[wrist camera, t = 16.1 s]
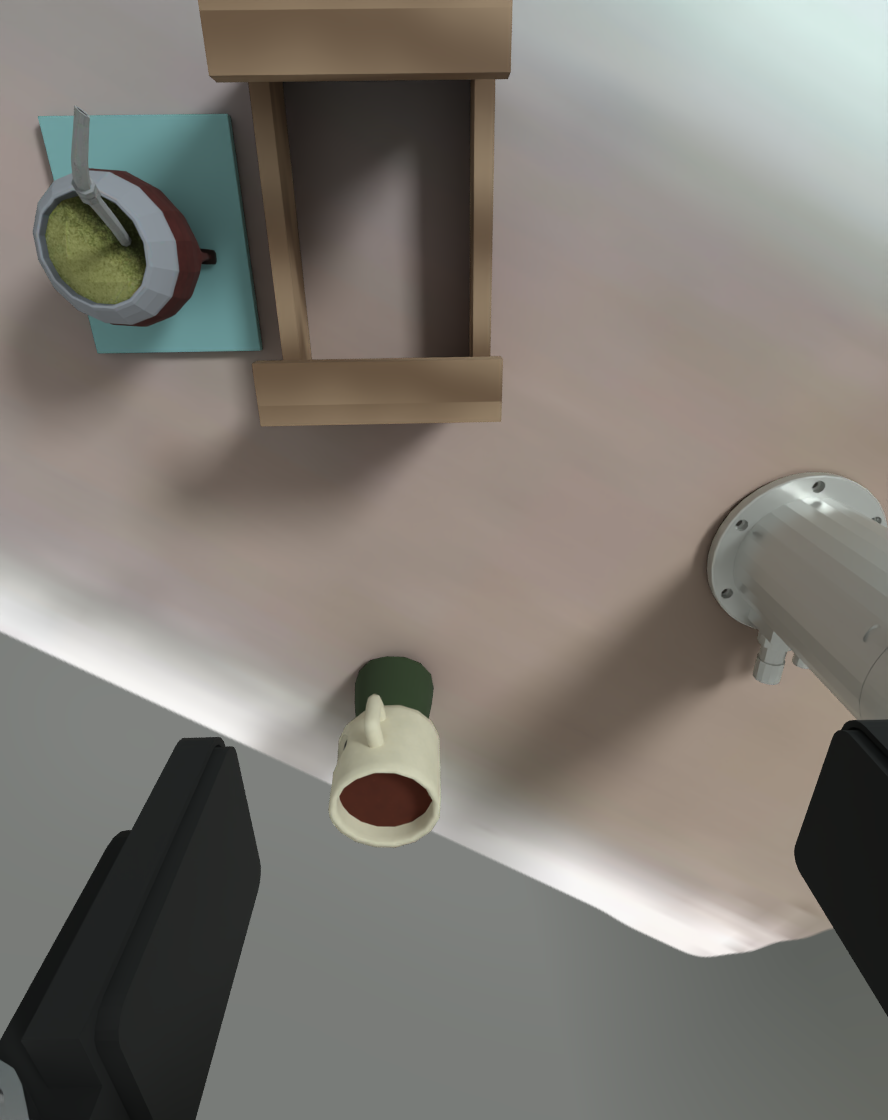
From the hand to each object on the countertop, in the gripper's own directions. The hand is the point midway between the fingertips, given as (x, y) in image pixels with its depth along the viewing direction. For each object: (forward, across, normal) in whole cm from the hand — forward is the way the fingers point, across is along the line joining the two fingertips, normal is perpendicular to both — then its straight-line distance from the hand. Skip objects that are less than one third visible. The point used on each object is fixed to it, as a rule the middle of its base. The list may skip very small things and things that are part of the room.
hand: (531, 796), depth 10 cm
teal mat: (+33, +17, -9) cm, 38 cm away
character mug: (+34, +5, +23) cm, 41 cm away
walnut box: (+33, +4, -9) cm, 35 cm away
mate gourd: (+33, +17, -9) cm, 38 cm away
